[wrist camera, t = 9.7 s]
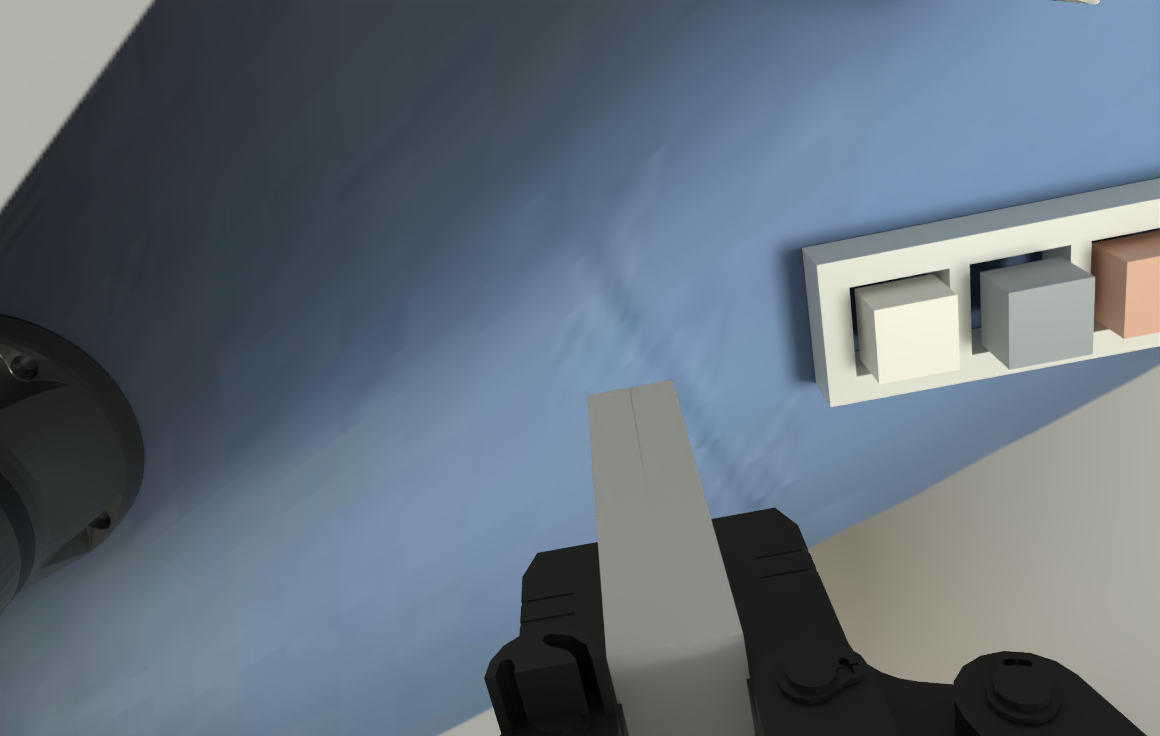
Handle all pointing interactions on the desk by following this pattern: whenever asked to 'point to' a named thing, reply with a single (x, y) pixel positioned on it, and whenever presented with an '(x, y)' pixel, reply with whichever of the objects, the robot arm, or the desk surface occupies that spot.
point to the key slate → (1037, 312)
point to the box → (1082, 1)
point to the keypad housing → (962, 279)
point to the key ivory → (908, 328)
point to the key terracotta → (1128, 284)
